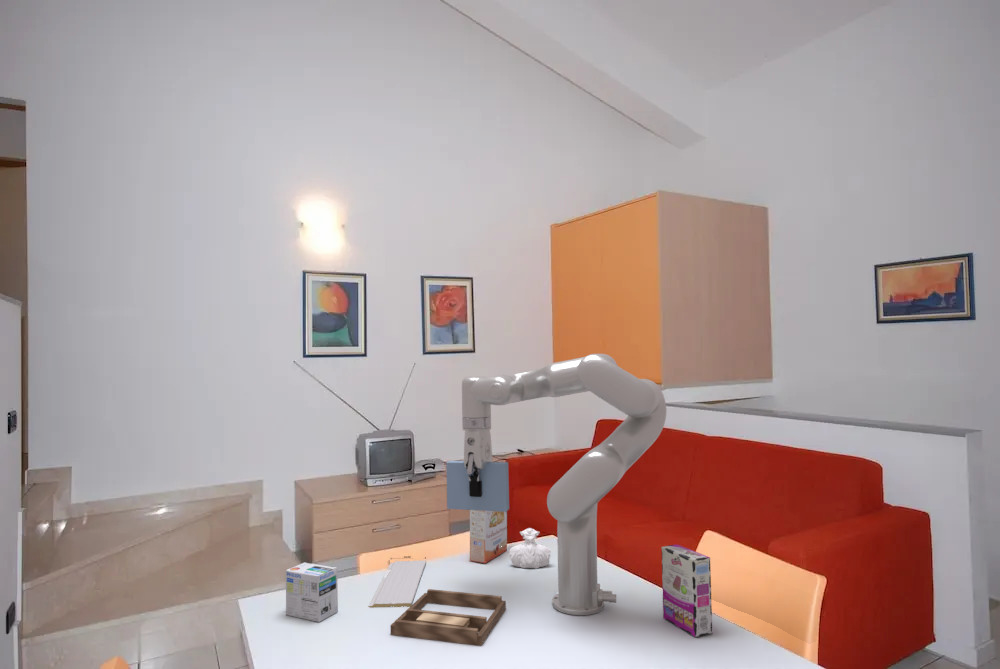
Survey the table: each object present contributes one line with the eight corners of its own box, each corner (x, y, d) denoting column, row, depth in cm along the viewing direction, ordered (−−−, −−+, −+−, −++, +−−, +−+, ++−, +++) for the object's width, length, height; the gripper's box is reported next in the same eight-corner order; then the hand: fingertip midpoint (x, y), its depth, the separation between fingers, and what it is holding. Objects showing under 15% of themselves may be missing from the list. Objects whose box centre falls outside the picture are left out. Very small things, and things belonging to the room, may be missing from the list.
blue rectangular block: (509, 508, 155) (508, 462, 156) (506, 511, 152) (505, 464, 153) (451, 506, 160) (450, 460, 160) (447, 508, 157) (446, 462, 157)
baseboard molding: (362, 610, 147) (411, 609, 147) (362, 598, 147) (411, 597, 147) (385, 566, 178) (426, 565, 178) (385, 556, 178) (426, 555, 178)
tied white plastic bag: (551, 572, 175) (549, 534, 182) (551, 563, 169) (550, 524, 176) (509, 572, 175) (510, 534, 183) (508, 563, 170) (509, 524, 177)
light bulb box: (339, 612, 145) (338, 566, 145) (319, 623, 139) (319, 575, 139) (304, 605, 149) (304, 561, 150) (284, 615, 143) (284, 569, 143)
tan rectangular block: (470, 633, 133) (470, 618, 133) (463, 641, 129) (463, 626, 129) (421, 626, 136) (420, 612, 137) (413, 634, 133) (412, 619, 133)
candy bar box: (714, 634, 130) (711, 557, 130) (695, 638, 128) (693, 560, 128) (679, 614, 140) (677, 542, 141) (662, 618, 138) (660, 545, 139)
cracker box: (486, 564, 176) (485, 492, 177) (469, 561, 179) (468, 490, 180) (508, 550, 188) (507, 483, 189) (491, 548, 191) (490, 482, 192)
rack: (505, 609, 144) (505, 596, 144) (481, 645, 126) (481, 631, 126) (425, 600, 150) (425, 588, 150) (390, 634, 132) (390, 620, 132)
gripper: (480, 427, 148) (482, 502, 147) (499, 420, 164) (500, 488, 163) (452, 427, 150) (453, 501, 149) (473, 420, 166) (474, 487, 165)
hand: (478, 494), depth 156 cm, fingers closed on blue rectangular block, 3 cm apart
